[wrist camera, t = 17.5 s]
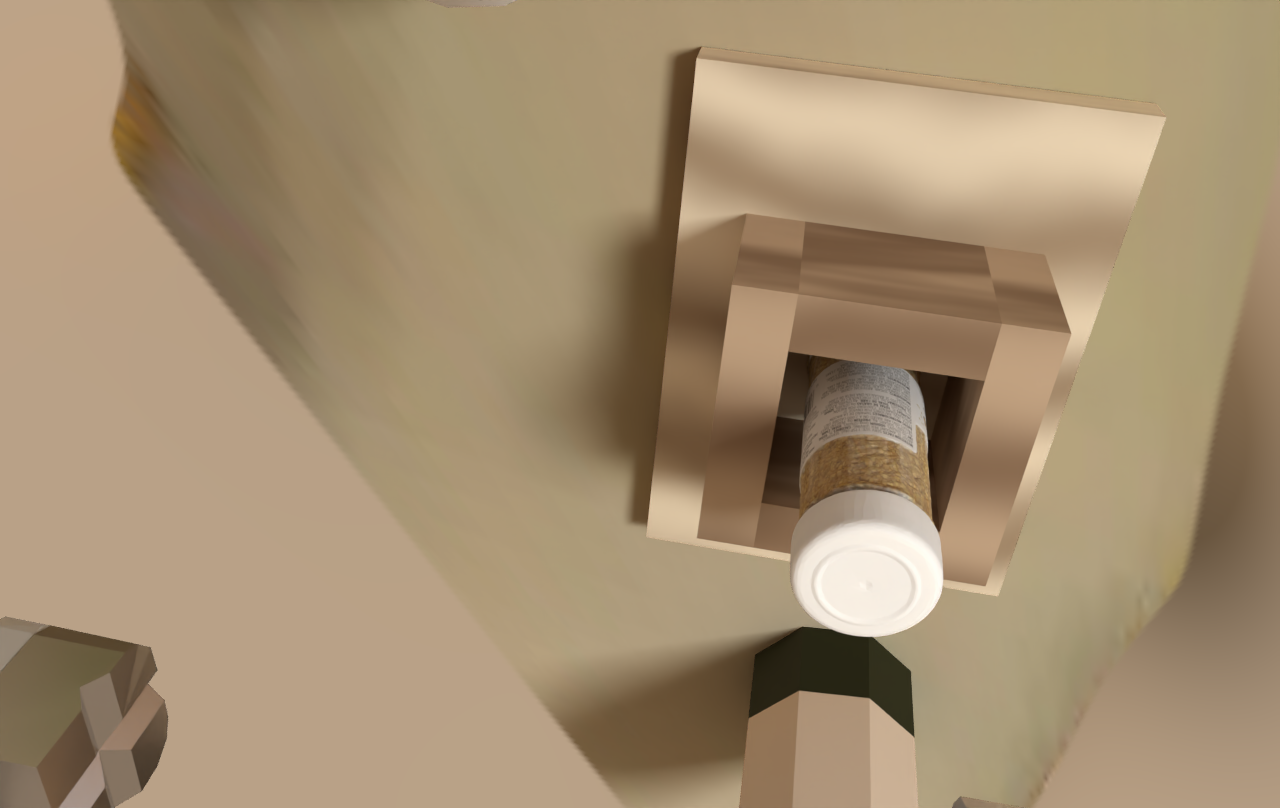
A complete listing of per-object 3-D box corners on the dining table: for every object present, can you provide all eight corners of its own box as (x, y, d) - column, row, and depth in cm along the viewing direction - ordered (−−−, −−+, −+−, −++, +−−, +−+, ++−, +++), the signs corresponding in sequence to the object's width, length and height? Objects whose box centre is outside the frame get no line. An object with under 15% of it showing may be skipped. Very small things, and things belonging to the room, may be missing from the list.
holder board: (701, 46, 40) (672, 112, 33) (1156, 103, 38) (1214, 183, 32) (651, 517, 52) (623, 629, 46) (994, 574, 50) (1014, 697, 44)
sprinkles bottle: (897, 421, 45) (911, 659, 34) (791, 390, 45) (769, 619, 34) (939, 327, 42) (969, 553, 31) (826, 295, 43) (815, 509, 31)
